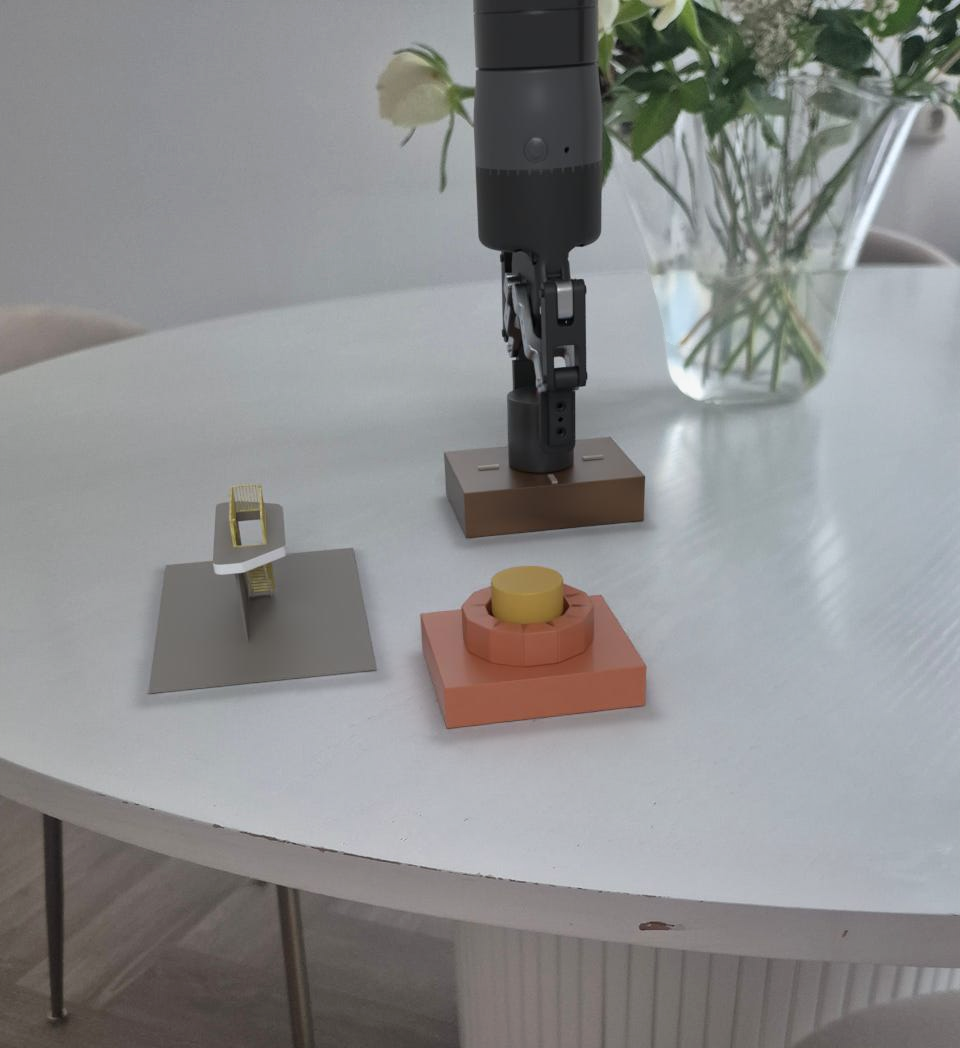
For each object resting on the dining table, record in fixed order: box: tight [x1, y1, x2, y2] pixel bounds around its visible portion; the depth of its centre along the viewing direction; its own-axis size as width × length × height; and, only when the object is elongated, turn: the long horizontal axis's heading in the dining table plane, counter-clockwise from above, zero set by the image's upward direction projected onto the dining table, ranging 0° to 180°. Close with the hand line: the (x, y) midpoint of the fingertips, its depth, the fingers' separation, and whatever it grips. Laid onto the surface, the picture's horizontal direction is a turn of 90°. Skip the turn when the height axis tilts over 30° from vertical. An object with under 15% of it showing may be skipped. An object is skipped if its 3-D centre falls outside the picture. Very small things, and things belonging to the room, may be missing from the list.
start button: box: [490, 565, 564, 624], centre depth 63 cm, size 4×4×2 cm
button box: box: [419, 582, 648, 729], centre depth 65 cm, size 10×9×4 cm
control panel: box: [443, 436, 646, 539], centre depth 86 cm, size 12×9×3 cm
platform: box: [148, 483, 377, 694], centre depth 72 cm, size 12×18×7 cm, turn 9°
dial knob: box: [506, 386, 574, 473], centre depth 84 cm, size 4×4×5 cm
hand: (543, 432), depth 84 cm, fingers open, 8 cm apart
